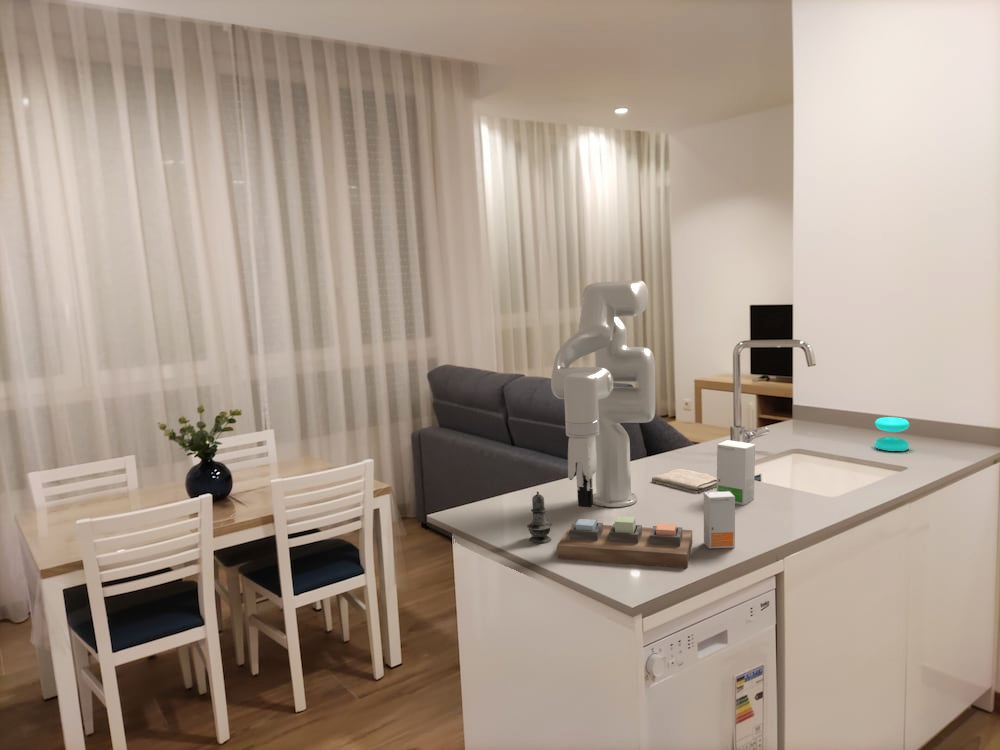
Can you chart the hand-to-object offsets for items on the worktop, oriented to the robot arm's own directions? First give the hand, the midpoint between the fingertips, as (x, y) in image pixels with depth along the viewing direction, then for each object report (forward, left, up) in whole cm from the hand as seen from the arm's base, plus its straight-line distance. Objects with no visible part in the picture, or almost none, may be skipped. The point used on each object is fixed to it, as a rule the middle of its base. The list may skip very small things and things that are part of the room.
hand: (585, 505), depth 167 cm
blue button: (+1, 0, -6) cm, 6 cm away
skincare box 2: (-41, +32, -10) cm, 53 cm away
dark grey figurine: (-2, -12, -10) cm, 16 cm away
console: (+1, +9, -10) cm, 13 cm away
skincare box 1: (-6, +29, -10) cm, 31 cm away
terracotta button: (+1, +18, -6) cm, 19 cm away
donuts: (-105, +80, -10) cm, 133 cm away
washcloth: (-55, +18, -11) cm, 59 cm away
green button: (+1, +9, -5) cm, 10 cm away
